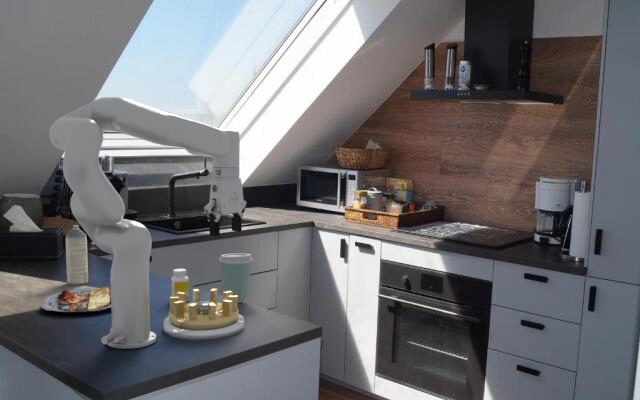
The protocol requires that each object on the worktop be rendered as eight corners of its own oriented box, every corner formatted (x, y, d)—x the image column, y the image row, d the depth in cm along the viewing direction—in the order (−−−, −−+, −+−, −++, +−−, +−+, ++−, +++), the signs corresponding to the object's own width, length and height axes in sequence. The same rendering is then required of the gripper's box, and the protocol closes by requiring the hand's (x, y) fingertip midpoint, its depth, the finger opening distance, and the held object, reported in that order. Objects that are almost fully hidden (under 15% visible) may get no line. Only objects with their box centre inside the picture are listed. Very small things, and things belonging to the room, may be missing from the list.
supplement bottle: (192, 300, 226) (192, 269, 224) (178, 303, 222) (177, 272, 220) (182, 297, 229) (181, 267, 228) (167, 300, 225) (167, 269, 224)
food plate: (50, 295, 229) (50, 285, 229) (125, 293, 234) (125, 282, 233) (36, 320, 205) (36, 308, 204) (120, 317, 210) (120, 305, 209)
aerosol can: (87, 280, 250) (85, 223, 248) (88, 284, 244) (86, 226, 241) (67, 281, 248) (64, 224, 245) (67, 286, 242) (65, 227, 239)
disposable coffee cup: (212, 299, 227) (212, 252, 225) (242, 294, 234) (242, 248, 232) (229, 306, 219) (228, 258, 217) (259, 301, 225) (259, 254, 223)
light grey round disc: (219, 344, 184) (219, 335, 184) (147, 333, 192) (147, 325, 192) (257, 320, 205) (257, 313, 204) (190, 312, 213) (190, 305, 212)
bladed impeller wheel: (157, 327, 191) (157, 303, 190) (184, 307, 209) (184, 286, 208) (225, 332, 187) (225, 308, 186) (247, 312, 206) (247, 290, 205)
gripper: (216, 176, 193) (216, 239, 195) (255, 172, 207) (254, 230, 209) (195, 174, 196) (195, 236, 199) (234, 170, 211) (234, 228, 213)
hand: (225, 233), depth 204 cm, fingers open, 9 cm apart
